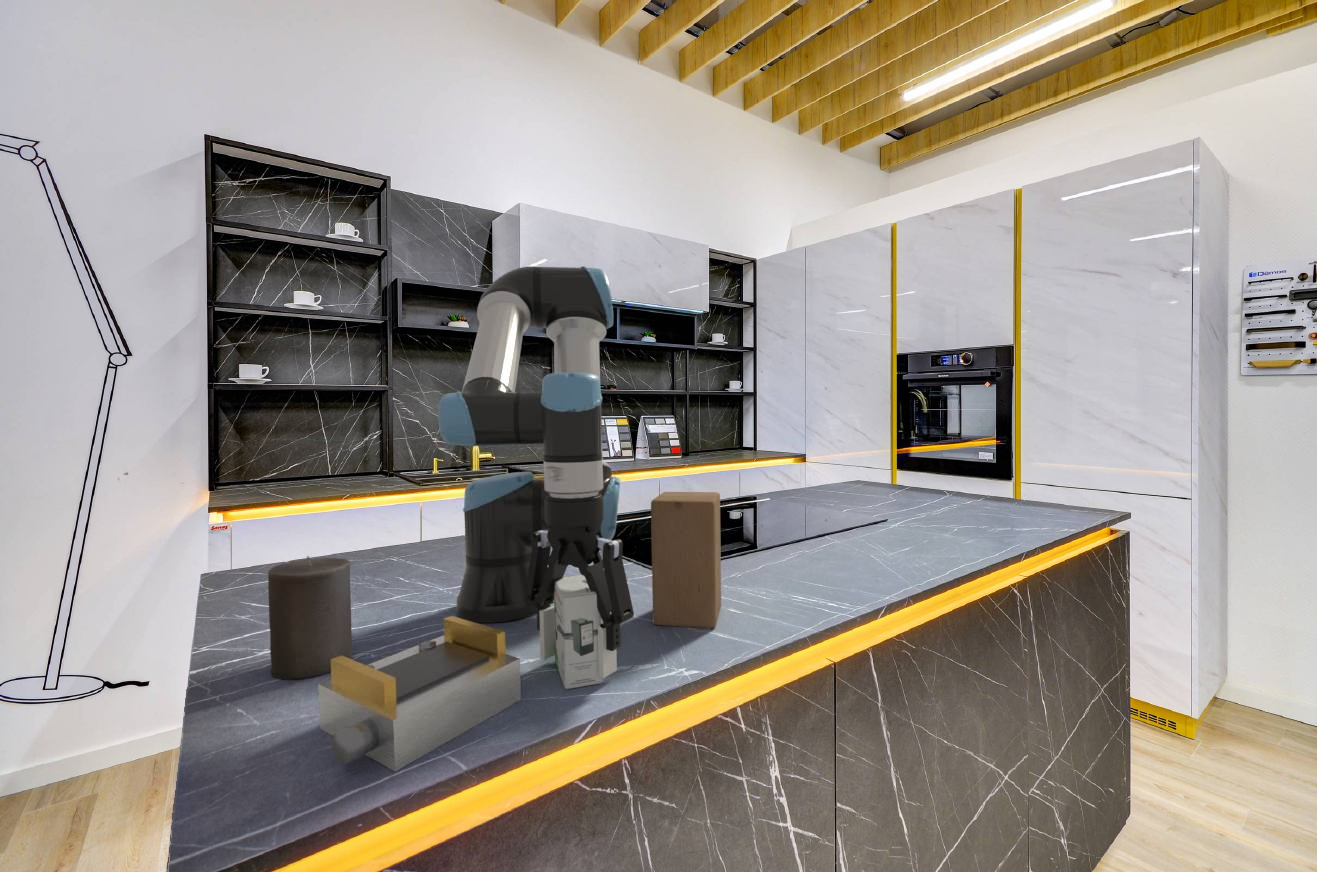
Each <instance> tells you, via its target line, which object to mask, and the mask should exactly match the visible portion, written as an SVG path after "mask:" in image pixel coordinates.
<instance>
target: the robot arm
mask: <svg viewBox="0 0 1317 872" xmlns="http://www.w3.org/2000/svg"><path fill="white" fill-rule="evenodd" d="M610 286H611V285H610V282H609V277H608V275H607V273H606V272H605V271H604V270H603V269H601V268H597V267H595V268H594V267H587V266H583V265H582V266H580V267H564V266H562V267H561V266H557V267H555V266H533V265H532V266H523V267H518V268H515V269H512V270H510V271H508V272H506V273H504V274H502V275H501V276H499V277H498V278H496V279H495V280H494V281H493V282H492V283H491V284H490V285H489V286H488V287H487V288H486V289H485V291H484V292H483V293H482V295H481V296H480V299H479V303H478V306H477V310H476V313H477V314H476V315H477V320H478V323H479V325H478V328H477V333H476V337H475V339H474V340H475V341H474V345H473V349H472V351H471V356H470V359H469V362H468V363H469V364H468V367H467V370H466V375H465V378H464V382H463V386H462V390H461V391H456V392H450V393H449V392H448V393H446V394H444V395H442V397H441V398H440V401H439V403H438V413H437V415H438V416H437V419H438V429H439V433H440V437H441V439H442V440H443V442H445V444H447V445H450V446H469V447H481V446H484V447H485V446H505V445H506V446H507V445H508V446H509V445H543V479H535V476H534V474H533V472H531V471H521V472H520V471H518V472H517V471H516V472H510V473H504V474H502V473H501V474H498V475H492V476H487V477H483V478H479V479H476V480H473V481H471V482H469V483H468V484H467V485H466V487H465V488H464V499H463V500H464V501H463V503H464V506H463V508H462V511H463V513H464V536H465V540H464V541H465V565H466V566H465V570H464V573H463V578H462V580H461V586H460V589H459V590H460V591H459V593H458V596H457V597H456V614H457V616H458V618H461V619H464V620H468V621H471V622H474V623H501V622H509V621H511V622H512V621H515V620H516V621H517V620H520V619H523V618H527V617H530V616H533V615H536V628H537V631H538V632H539V647H540V648H539V649H540V651H539V652H540V660H543V661H546V660H548V659H550V658H552V657H553V656H555V618H554V585H555V581H557V580H559V579H562V578H564V576H565V573H566V570H567V568H568V566H572V567H574V568H577V569H578V571H579V574H580V575H583V576H585V579H586V581H587V584H588V586H589V589H590V591H593V592H596V594H597V609H598V611H599V614H600V616H601V624H600V625H598V663H599V677H601V678H602V679H605V678H607V677H608V676H610V675H612V674H613V673H614V672H616V671H617V670H618V660H617V658H618V656H617V650H618V649H619V648H620V647H621V644H622V643H621V624H623V623H625V622H627V621H629V620H630V619H632V618H633V617H634V616H635V612H634V607H633V604H632V603H633V602H632V597H631V595H630V594H631V593H630V589H629V584H628V579H627V576H626V570H625V566H624V561H623V549H624V546H623V545H624V543H623V541H622V540H621V539H620V538H617V539H614V536H615V534H616V528H617V521H618V520H617V519H618V511H619V501H620V499H619V498H620V489H621V488H620V485H621V480H620V478H619V477H617V476H612V474H613V473H612V467H611V465H610V464H609V463H607V462H606V461H605V460H604V459H603V432H602V431H603V427H602V426H603V425H602V423H603V422H602V404H603V396H602V392H601V391H602V390H601V367H600V366H601V365H600V363H601V362H600V360H601V359H600V342H601V341H602V340H603V339H605V337H606V335H607V330H608V329H609V328H611V327H613V325H614V309H613V308H614V307H613V297H612V291H611V287H610ZM528 328H537V329H538V328H543V329H544V328H545V330H546V331H545V334H546V336H547V337H548V339H550V340H551V341H552V342H553V344H554V345H553V347H554V348H553V355H554V356H553V359H554V360H553V361H554V362H553V364H554V365H553V366H554V368H553V369H554V372H553V373H549V374H546V375H544V376H543V378H542V380H541V386H542V387H541V391H529V392H527V391H524V392H521V391H516V387H517V379H518V371H519V366H520V365H519V363H520V358H521V357H520V356H521V351H522V343H523V335H524V333H525V332H527V330H528ZM612 539H614V540H612ZM551 549H552V550H551ZM592 563H593V564H592ZM591 564H592V565H591ZM552 604H553V605H552Z"/></svg>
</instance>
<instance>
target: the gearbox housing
mask: <svg viewBox="0 0 1317 872" xmlns="http://www.w3.org/2000/svg"><path fill="white" fill-rule="evenodd" d="M521 686H522V685H521V659H520V658H519V657H517V656H514V655H510V654H507V653H506V630H502V629H500V628H495V627H492V626H488V625H484V624H481V623H479V622H474V621H469V620H465V619H463V618H461V617H456V616H453V615H450V616H448V617H445V618H443V635H441V636H439V637H436V638H434V639H431V640H425V641H423V642H420V643H419V644H418V645H415V646H413V647H409V648H407V649H404V650H402V651H399V652H397V653H394V654H391V655H388V656H387V657H384V658H381V659H379V660H376V661H374V662H371V663H369V664H363V663H362V662H360V661H359V662H358V661H356V660H354V659H352V658H351V659H349V658H347V657H344V656H339V657H336V658H334V659H331V672H330V679H328V680H325V681H323V682H322V681H321V682H320V683H318V706H319V709H318V710H319V726H320V727H319V728H320V730H321V731H323V732H325V733H327V734H329V735H330V736H332V738H331V747H332V752H333V755H334V758H335V760H336V761H337V762H338V764H340V765H341V766H346V765H347V764H349V763H351V762H353V761H355V760H357V759H359V758H360V757H361V758H362V756H367V757H369V758H370V759H372V760H374V761H376V762H377V763H379V764H381V765H383V766H384V767H386V768H388V769H390V770H391V771H394V772H398V771H399V770H401V769H403V768H404V767H406V766H409V764H411V763H414V762H415V761H416V760H418V759H421V757H424V756H425V755H427V754H428V753H430V752H432V751H434V750H436V749H437V748H439V747H441V746H443V745H444V744H447V743H448V742H450V741H452V740H454V739H455V738H457V737H458V736H460V735H462V734H464V733H465V732H466V733H467V731H469V730H471V729H472V728H474V727H477V725H479V724H482V723H483V722H485V721H486V720H488V719H490V718H491V717H494V716H495V715H498V714H499V713H501V712H502V711H504V710H506V709H508V708H509V707H511V706H513V705H515V704H517V703H518V702H520V701H521V700H522V693H521V691H522V687H521Z"/></svg>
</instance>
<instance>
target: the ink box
mask: <svg viewBox="0 0 1317 872" xmlns="http://www.w3.org/2000/svg"><path fill="white" fill-rule="evenodd" d="M553 602H554V603H553V605H554V618H555V655H554V656H555V657H554V660H555V661H554V663H555V664H556V669H557V670H558V673H559V676H560V679H561V681H562V684H563V687H564V689H565V690H569V689H575V688H582V687H587V686H593V685H598V684H599V685H600V684H602V683H603V678H601V677H599V663H598V625H600V624H602V619H601V616H600V614H599V611H598V609H597V594H596V592H593V591H590V589H589V586H588V584H587V581H586V579H585V576H583V575H581V574H577V575H572V576H565V577H564V576H563V578H562V579H559V580H557V581H555V585H554V601H553Z"/></svg>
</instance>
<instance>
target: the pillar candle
mask: <svg viewBox="0 0 1317 872" xmlns="http://www.w3.org/2000/svg"><path fill="white" fill-rule="evenodd" d="M267 581H268V583H267V584H268V585H267V586H268V587H267V591H268V616H269V619H268V620H269V621H268V622H269V634H270V635H269V638H270V639H269V641H270V642H269V643H270V644H269V645H270V647H269V649H270V665H271V666H270V668H271V670H270V675H271V676H273V677H275V678H276V679H280V680H284V681H285V680H286V681H288V680H289V681H290V680H302V679H309V678H314V677H318V676H324V675H325V674H328V673H329V674H330V673H331V659H334V658H336V657H339V656H344V657H347V658H349V659H352V656H353V642H352V605H351V604H352V603H351V602H352V599H351V598H352V597H351V561H350V560H349V559H346V558H339V557H321V556H320V557H314V558H310V556H309V555H308V556H306V558H304V559H300V560H299V559H297V560H292V561H288V562H287V561H286V562H283V563H281V564H277V565H275V566H272V567H271V568H269V570H268V578H267Z"/></svg>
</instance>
